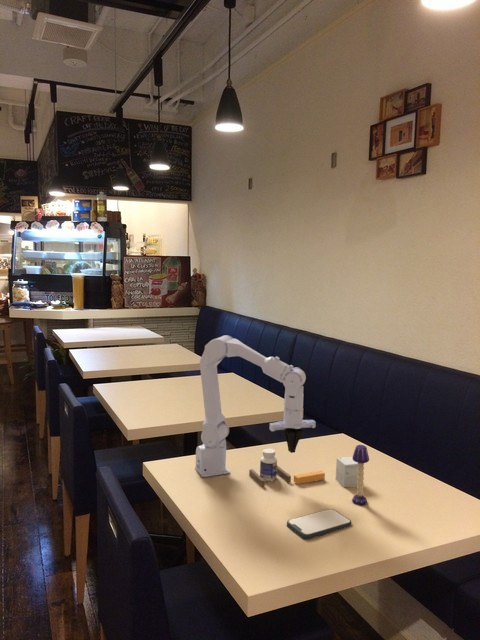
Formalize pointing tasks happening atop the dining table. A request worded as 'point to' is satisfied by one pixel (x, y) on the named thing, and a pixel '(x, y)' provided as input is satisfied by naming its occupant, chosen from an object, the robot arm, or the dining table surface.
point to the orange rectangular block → (309, 477)
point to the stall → (262, 481)
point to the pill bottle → (268, 465)
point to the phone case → (318, 523)
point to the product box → (346, 471)
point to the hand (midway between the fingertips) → (291, 451)
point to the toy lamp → (360, 473)
